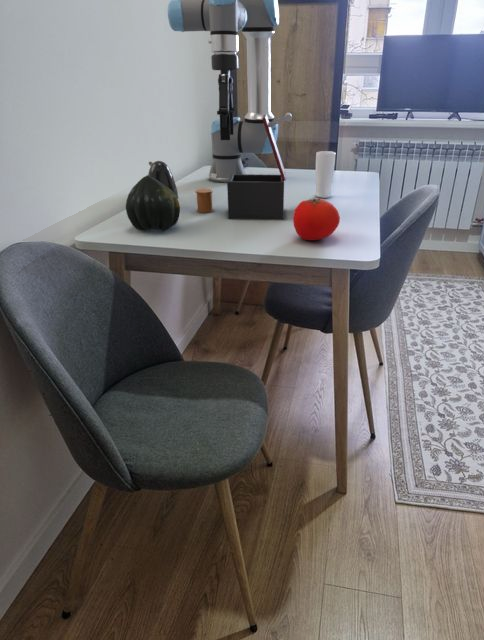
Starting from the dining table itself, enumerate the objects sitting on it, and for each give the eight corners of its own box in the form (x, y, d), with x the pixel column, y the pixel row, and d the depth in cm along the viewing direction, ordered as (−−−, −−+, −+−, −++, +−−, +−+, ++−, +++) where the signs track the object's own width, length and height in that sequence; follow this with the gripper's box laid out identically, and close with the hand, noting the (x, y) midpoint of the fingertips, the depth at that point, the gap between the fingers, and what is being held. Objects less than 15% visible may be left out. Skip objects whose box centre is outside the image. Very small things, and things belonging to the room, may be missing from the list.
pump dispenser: (167, 204, 163) (162, 157, 155) (185, 209, 156) (181, 160, 148) (141, 209, 156) (135, 160, 149) (159, 215, 150) (153, 164, 142)
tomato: (304, 229, 138) (306, 191, 132) (344, 235, 132) (348, 197, 127) (282, 241, 128) (283, 201, 122) (325, 249, 122) (328, 207, 117)
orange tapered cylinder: (198, 208, 158) (196, 188, 154) (214, 209, 157) (213, 188, 154) (195, 213, 153) (194, 192, 150) (212, 213, 153) (211, 192, 149)
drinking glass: (331, 199, 169) (335, 154, 162) (312, 198, 170) (315, 153, 163) (333, 194, 175) (336, 151, 167) (314, 194, 176) (317, 150, 168)
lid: (262, 118, 132) (289, 107, 131) (263, 115, 143) (288, 105, 141) (282, 181, 141) (308, 171, 139) (282, 173, 151) (306, 164, 149)
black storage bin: (228, 218, 147) (227, 181, 141) (232, 209, 157) (230, 174, 152) (283, 219, 147) (284, 182, 141) (283, 209, 157) (284, 174, 151)
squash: (159, 220, 125) (171, 169, 128) (110, 218, 130) (122, 168, 132) (181, 243, 139) (191, 196, 142) (136, 240, 143) (146, 195, 146)
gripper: (215, 55, 143) (218, 132, 153) (205, 52, 121) (210, 142, 132) (240, 55, 142) (242, 132, 153) (235, 52, 121) (237, 142, 132)
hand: (227, 137), depth 143 cm, fingers open, 13 cm apart
